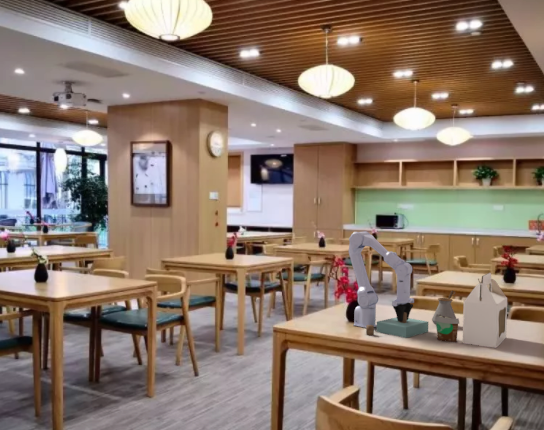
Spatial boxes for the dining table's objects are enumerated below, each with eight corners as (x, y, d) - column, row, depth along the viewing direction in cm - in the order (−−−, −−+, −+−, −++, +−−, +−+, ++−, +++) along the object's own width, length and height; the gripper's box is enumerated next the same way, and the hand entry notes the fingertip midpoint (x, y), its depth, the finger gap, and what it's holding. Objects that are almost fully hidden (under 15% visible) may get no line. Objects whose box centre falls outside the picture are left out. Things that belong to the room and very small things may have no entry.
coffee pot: (454, 330, 261) (454, 297, 261) (428, 327, 267) (429, 294, 267) (464, 322, 279) (465, 291, 279) (440, 319, 285) (441, 289, 285)
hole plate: (376, 331, 255) (376, 321, 255) (399, 326, 268) (399, 316, 267) (405, 337, 244) (406, 327, 244) (428, 331, 257) (428, 321, 257)
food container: (428, 337, 246) (428, 314, 246) (440, 336, 248) (440, 313, 248) (446, 343, 235) (447, 319, 234) (458, 342, 237) (459, 318, 237)
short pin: (364, 334, 249) (364, 325, 249) (369, 333, 251) (369, 324, 251) (370, 335, 247) (370, 326, 247) (375, 334, 249) (375, 325, 249)
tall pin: (397, 330, 256) (397, 312, 256) (401, 329, 258) (401, 311, 258) (403, 331, 254) (404, 313, 253) (407, 330, 256) (408, 312, 256)
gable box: (474, 333, 255) (476, 270, 254) (506, 337, 248) (507, 273, 247) (462, 343, 236) (464, 275, 235) (496, 348, 229) (498, 278, 228)
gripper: (401, 292, 248) (401, 324, 248) (420, 289, 258) (419, 319, 258) (388, 290, 253) (387, 321, 253) (406, 287, 263) (405, 317, 263)
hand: (402, 320), depth 256 cm, fingers open, 4 cm apart
